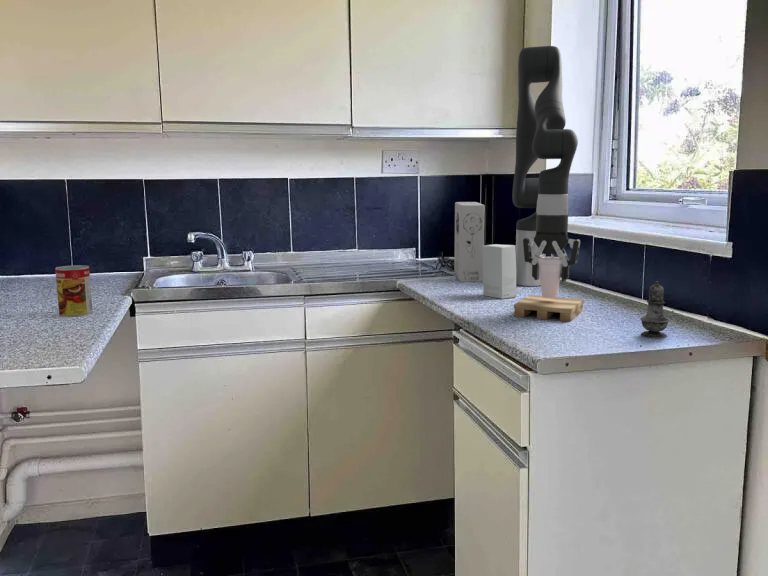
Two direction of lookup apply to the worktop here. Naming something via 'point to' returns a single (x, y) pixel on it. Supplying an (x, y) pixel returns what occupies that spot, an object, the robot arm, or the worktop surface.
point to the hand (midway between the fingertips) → (550, 280)
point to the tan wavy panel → (549, 307)
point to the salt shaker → (655, 314)
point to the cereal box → (469, 241)
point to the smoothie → (550, 275)
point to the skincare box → (499, 271)
